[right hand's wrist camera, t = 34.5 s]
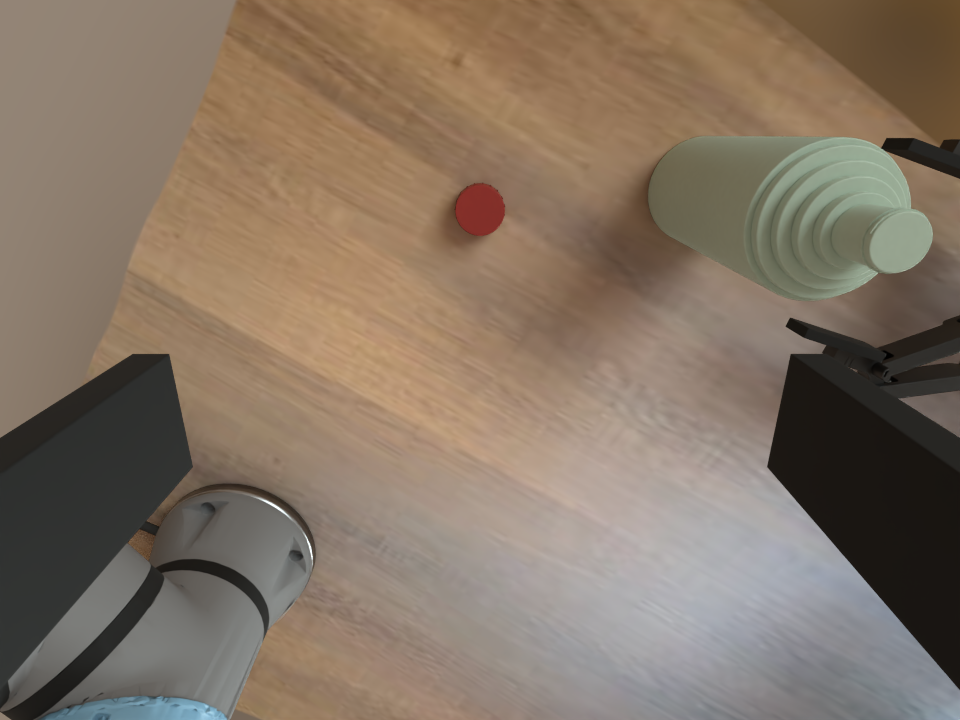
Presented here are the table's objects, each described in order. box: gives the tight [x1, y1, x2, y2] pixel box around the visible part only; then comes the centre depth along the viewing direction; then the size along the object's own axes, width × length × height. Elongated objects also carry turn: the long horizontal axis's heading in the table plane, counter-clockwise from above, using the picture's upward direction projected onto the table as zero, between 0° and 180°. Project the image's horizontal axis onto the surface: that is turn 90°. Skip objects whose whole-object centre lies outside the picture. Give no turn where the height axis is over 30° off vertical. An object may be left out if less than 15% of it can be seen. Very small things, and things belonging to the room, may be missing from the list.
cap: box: [455, 183, 505, 236], centre depth 46 cm, size 4×4×2 cm
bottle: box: [648, 136, 933, 301], centre depth 35 cm, size 8×8×24 cm
